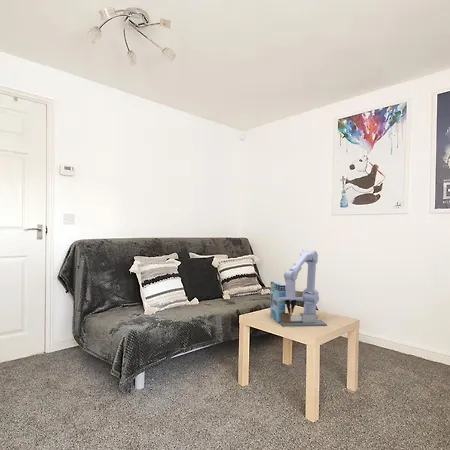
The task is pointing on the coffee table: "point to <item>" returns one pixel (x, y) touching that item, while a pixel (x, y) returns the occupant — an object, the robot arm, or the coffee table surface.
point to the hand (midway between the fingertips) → (290, 312)
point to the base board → (299, 323)
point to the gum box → (277, 300)
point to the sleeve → (308, 317)
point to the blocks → (295, 316)
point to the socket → (285, 318)
